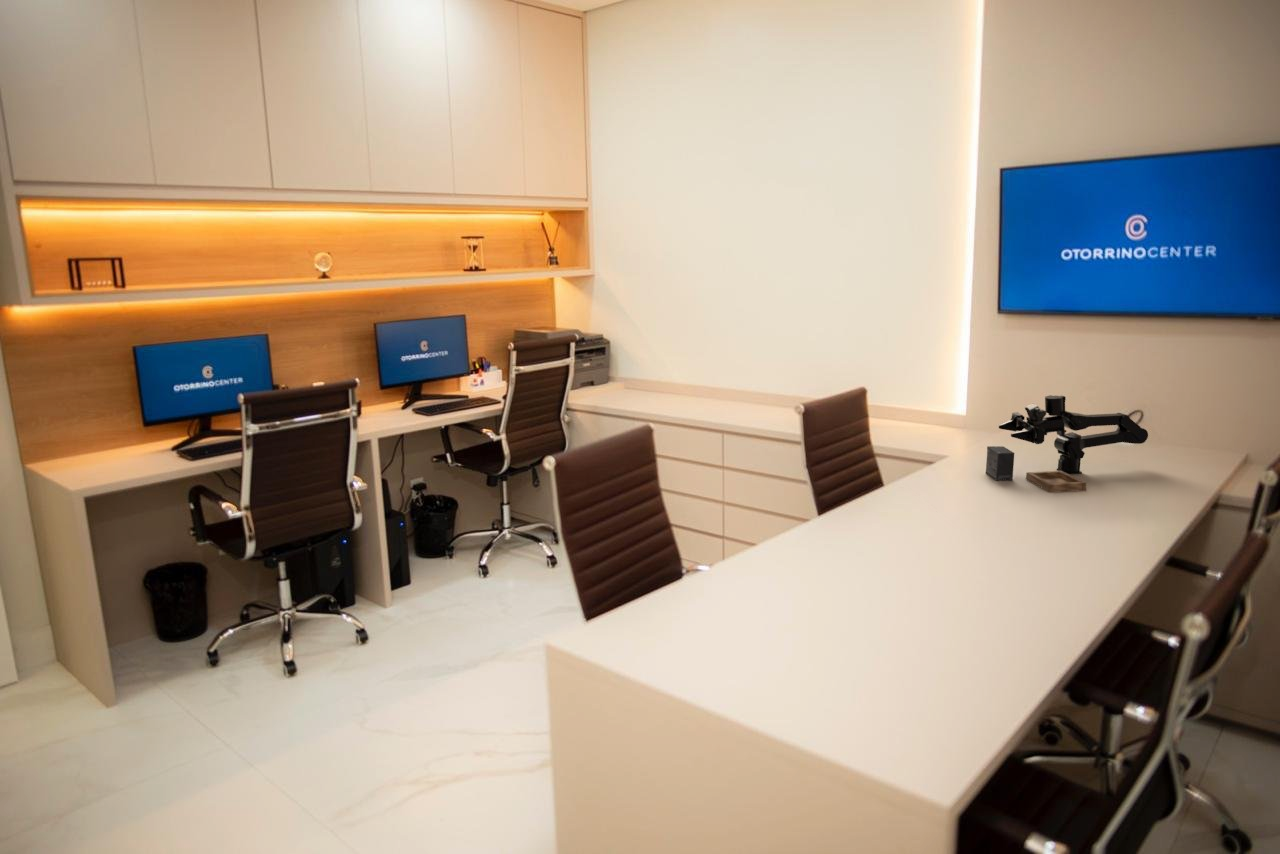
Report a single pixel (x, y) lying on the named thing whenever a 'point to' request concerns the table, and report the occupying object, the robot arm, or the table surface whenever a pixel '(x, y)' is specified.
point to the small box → (999, 463)
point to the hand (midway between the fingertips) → (1004, 431)
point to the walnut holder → (1056, 481)
